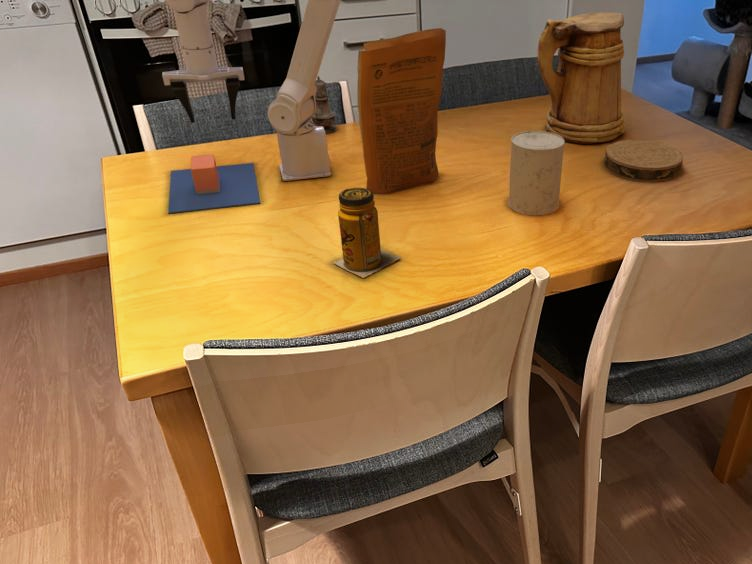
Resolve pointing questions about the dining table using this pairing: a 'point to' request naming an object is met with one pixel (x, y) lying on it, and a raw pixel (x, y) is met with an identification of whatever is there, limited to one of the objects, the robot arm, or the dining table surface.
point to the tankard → (584, 76)
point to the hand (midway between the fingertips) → (213, 119)
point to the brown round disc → (643, 160)
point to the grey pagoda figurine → (323, 108)
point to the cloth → (234, 191)
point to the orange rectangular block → (205, 174)
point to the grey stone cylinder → (535, 172)
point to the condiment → (361, 233)
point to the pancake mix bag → (400, 108)
